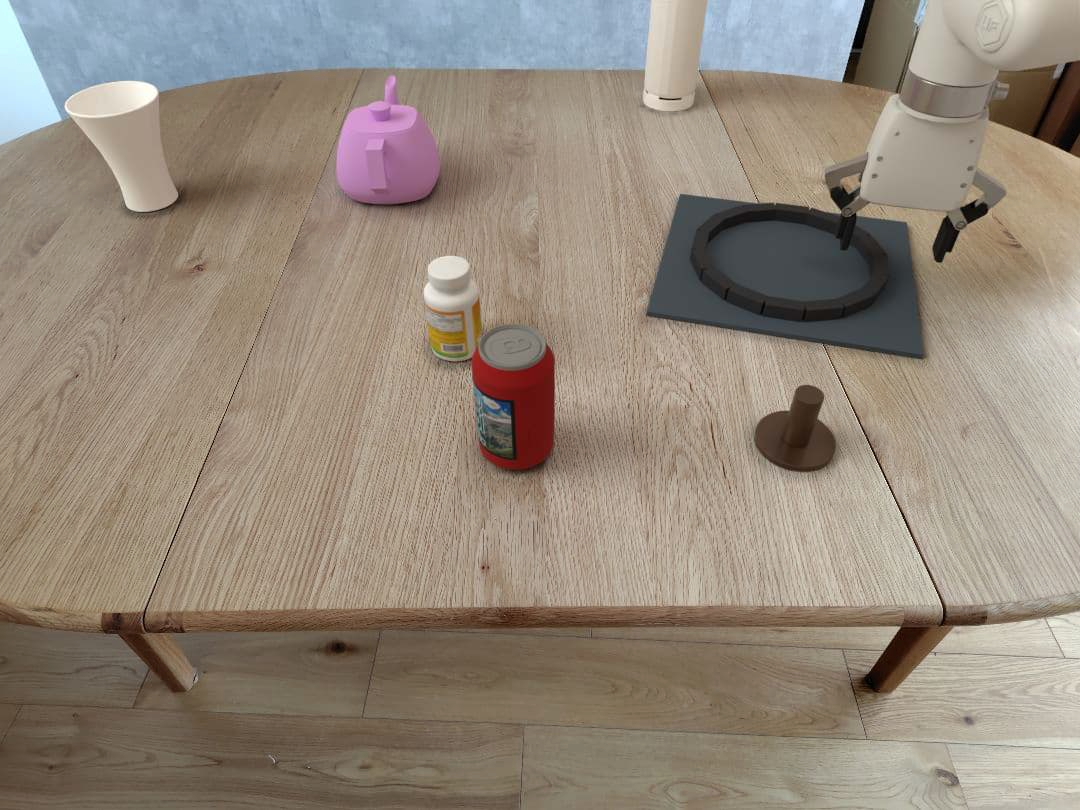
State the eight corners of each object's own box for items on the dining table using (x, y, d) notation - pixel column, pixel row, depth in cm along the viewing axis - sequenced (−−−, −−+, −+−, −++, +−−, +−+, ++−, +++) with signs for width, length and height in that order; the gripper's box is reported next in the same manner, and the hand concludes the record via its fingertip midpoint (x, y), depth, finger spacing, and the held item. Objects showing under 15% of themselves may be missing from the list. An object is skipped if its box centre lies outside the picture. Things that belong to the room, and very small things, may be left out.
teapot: (447, 149, 111) (439, 70, 103) (436, 221, 97) (426, 137, 89) (354, 150, 111) (340, 72, 103) (329, 223, 97) (310, 138, 89)
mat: (905, 226, 95) (906, 221, 95) (922, 359, 77) (924, 354, 77) (679, 197, 100) (680, 193, 100) (646, 315, 83) (646, 311, 82)
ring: (880, 227, 94) (884, 215, 93) (889, 335, 79) (894, 323, 78) (702, 204, 98) (704, 193, 97) (679, 303, 83) (681, 291, 82)
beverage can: (469, 431, 70) (459, 329, 62) (538, 412, 72) (537, 310, 64) (492, 484, 66) (484, 381, 57) (565, 463, 68) (567, 360, 59)
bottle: (669, 116, 118) (694, -97, 99) (631, 99, 123) (648, -108, 103) (704, 101, 122) (734, -107, 102) (666, 86, 126) (688, -116, 107)
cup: (146, 175, 106) (107, 76, 96) (210, 187, 103) (176, 86, 94) (91, 212, 99) (43, 109, 89) (158, 226, 96) (116, 122, 87)
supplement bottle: (463, 323, 82) (455, 244, 75) (493, 347, 79) (488, 268, 72) (420, 343, 79) (408, 264, 73) (450, 370, 76) (440, 290, 70)
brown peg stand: (834, 422, 71) (852, 374, 67) (834, 478, 66) (853, 430, 62) (757, 409, 72) (770, 360, 68) (751, 463, 67) (765, 414, 63)
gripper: (1037, 85, 73) (970, 242, 85) (847, 69, 76) (808, 222, 88) (1053, 117, 67) (979, 280, 79) (848, 99, 71) (806, 257, 83)
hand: (889, 249), depth 84 cm, fingers open, 9 cm apart
